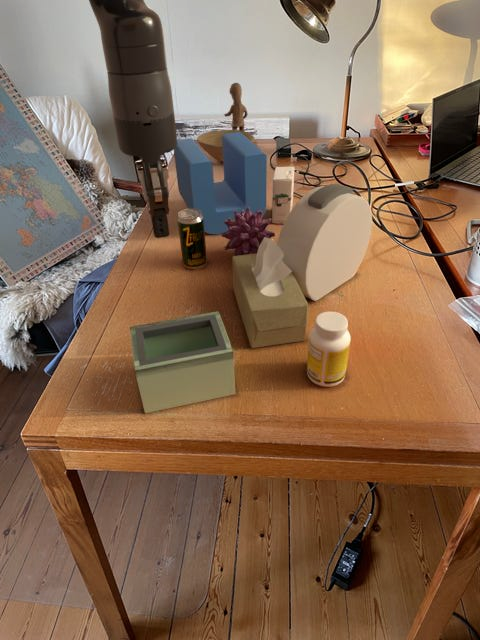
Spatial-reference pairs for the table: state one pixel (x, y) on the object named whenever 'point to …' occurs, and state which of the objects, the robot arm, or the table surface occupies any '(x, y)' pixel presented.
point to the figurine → (237, 108)
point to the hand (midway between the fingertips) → (161, 235)
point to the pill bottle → (328, 349)
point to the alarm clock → (326, 238)
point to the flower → (246, 232)
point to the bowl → (217, 142)
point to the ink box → (282, 194)
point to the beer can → (192, 238)
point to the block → (233, 192)
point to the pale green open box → (182, 361)
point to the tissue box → (269, 297)
